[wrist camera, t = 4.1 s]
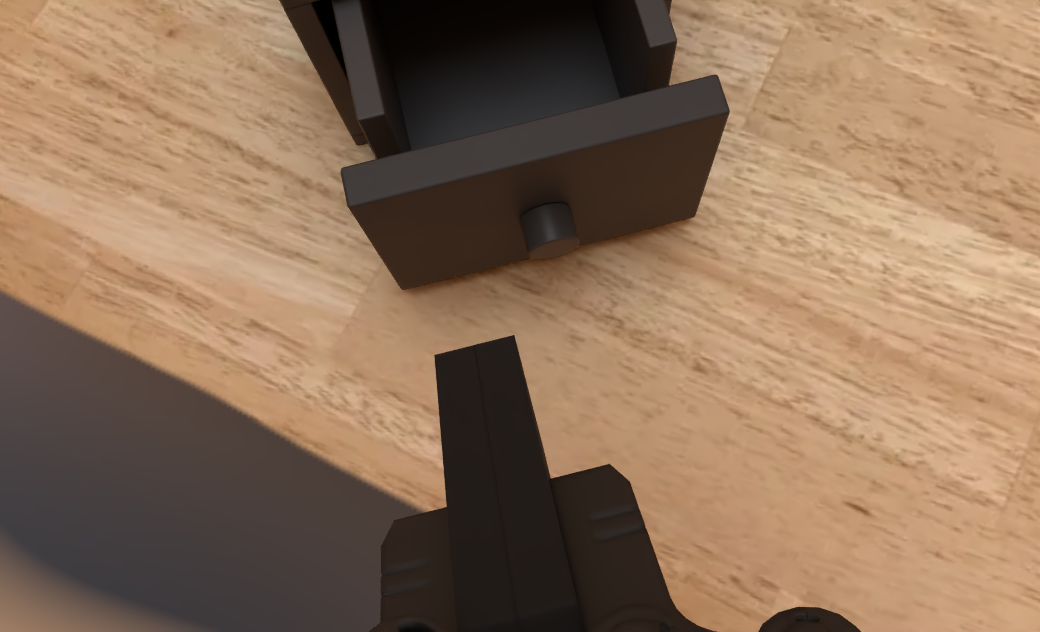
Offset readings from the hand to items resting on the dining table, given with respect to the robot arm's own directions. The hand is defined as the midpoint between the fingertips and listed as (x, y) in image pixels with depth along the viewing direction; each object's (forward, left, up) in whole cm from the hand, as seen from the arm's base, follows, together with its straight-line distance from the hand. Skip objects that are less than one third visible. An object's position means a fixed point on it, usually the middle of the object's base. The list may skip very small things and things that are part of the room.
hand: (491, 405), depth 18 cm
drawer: (-12, +4, -13) cm, 18 cm away
